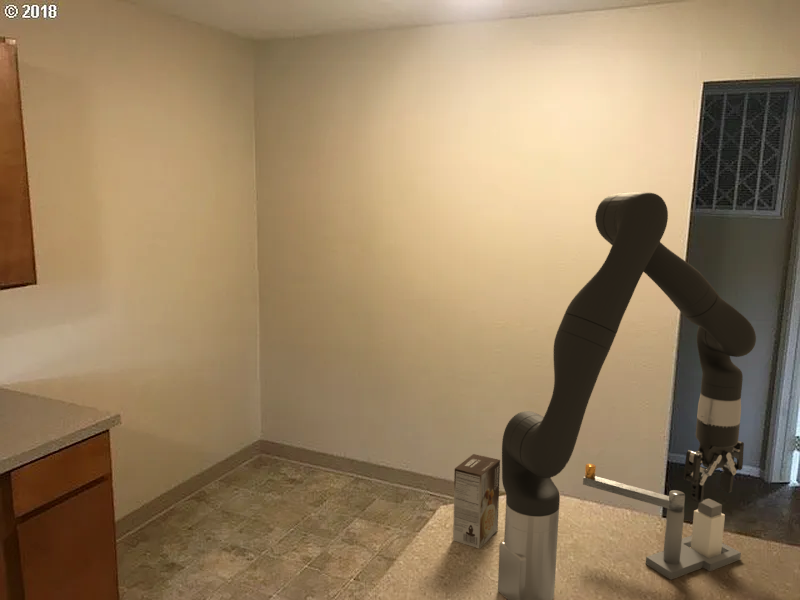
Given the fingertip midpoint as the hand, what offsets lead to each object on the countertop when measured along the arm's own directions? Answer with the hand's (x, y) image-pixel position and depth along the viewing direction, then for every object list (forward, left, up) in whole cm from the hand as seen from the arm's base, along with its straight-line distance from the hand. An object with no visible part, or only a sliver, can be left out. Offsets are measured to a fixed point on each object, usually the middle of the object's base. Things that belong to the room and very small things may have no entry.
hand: (711, 495), depth 134 cm
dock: (-5, 0, -12) cm, 13 cm away
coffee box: (-37, +27, -13) cm, 48 cm away
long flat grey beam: (-14, +7, 0) cm, 16 cm away
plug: (0, 0, -13) cm, 13 cm away
